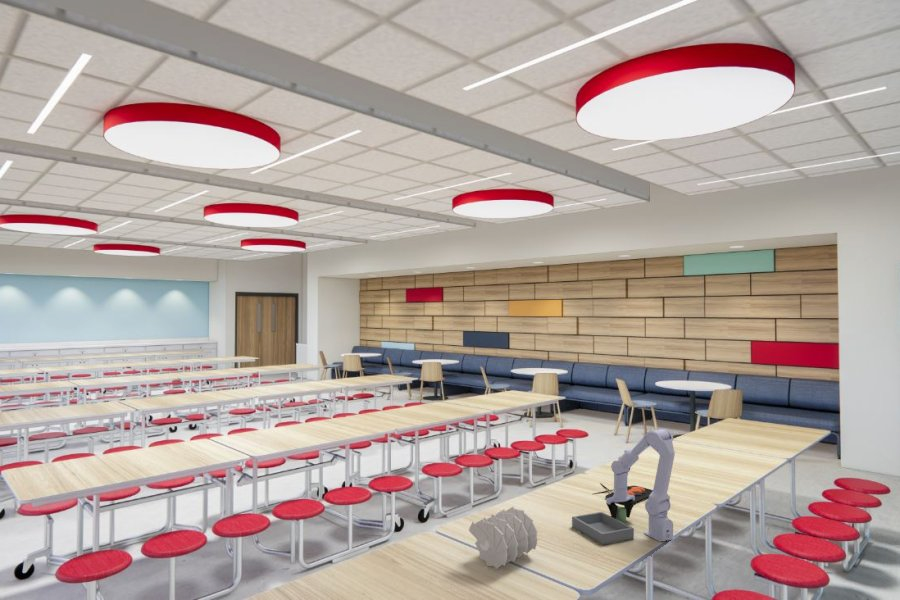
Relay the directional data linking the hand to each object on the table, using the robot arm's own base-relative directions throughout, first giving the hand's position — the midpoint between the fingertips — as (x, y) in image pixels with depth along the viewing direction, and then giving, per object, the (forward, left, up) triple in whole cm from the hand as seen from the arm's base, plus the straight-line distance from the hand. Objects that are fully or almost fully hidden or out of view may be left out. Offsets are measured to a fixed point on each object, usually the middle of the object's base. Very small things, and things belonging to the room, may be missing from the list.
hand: (620, 518), depth 239 cm
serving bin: (-7, +16, -2) cm, 18 cm away
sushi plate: (+32, -26, -2) cm, 41 cm away
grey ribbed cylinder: (-13, +66, -2) cm, 67 cm away
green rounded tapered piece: (0, 0, -2) cm, 2 cm away
